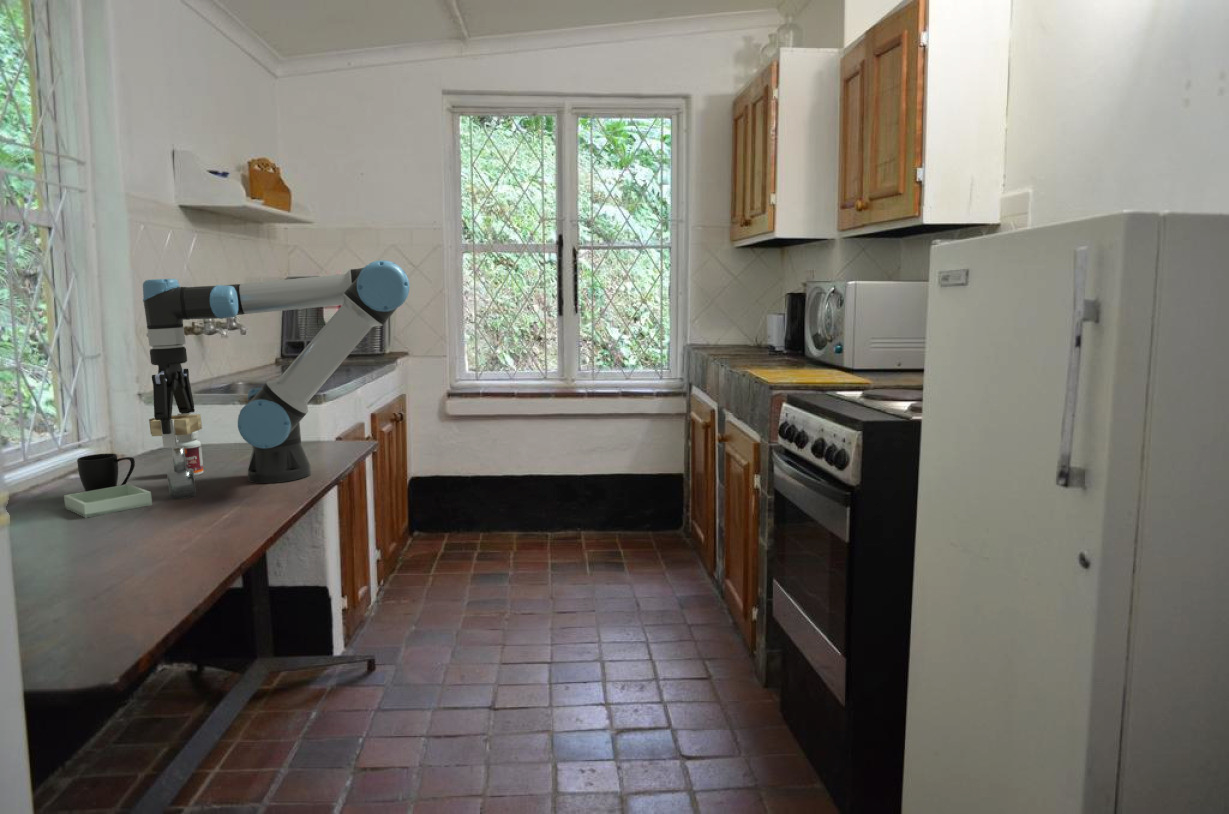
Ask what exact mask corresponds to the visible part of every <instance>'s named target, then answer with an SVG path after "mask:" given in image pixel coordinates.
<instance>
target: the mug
mask: <svg viewBox="0 0 1229 814" xmlns="http://www.w3.org/2000/svg"><path fill="white" fill-rule="evenodd" d="M124 460H127V461H128V460H129V461H130V467H129V469H128V472H127V475H126V477H125V478H124V480H123V481H122V483H121V484H120V485H125V484H128V481H129V478H130V477H131V475H132V473H133V472H134V469H135V466H136V465H135V464H136V462H135V458H134V457H131V456H126V457H120V458H118V454H116V453H95V454H89V455H84V456H81V457H78V458H77V459H76V461H77V470H78V475H79V479H80V482H81V484H82V487H83V489H84V492H86V491H92V490H97V489H103V488H109V487H114V486H118V485H117V484H118V479H119V463H120V461H124Z"/></svg>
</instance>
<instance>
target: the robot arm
mask: <svg viewBox="0 0 1229 814" xmlns="http://www.w3.org/2000/svg"><path fill="white" fill-rule="evenodd" d="M409 294H410V280H409V277H408V276H407V274H406V272H405V270H404V269H403V268H402V267H401V266H400V265H398V264H397V263H395V262H393V261H389V260H384V259H383V260H382V259H381V260H375V261H372V262H370V263H368V264H367V265H366V266H364V267H360V268H354V269H353V268H351V269H348V270H347V272H346V273H343V274H342V273H341V274H331V275H319V276H309V277H297V278H289V279H288V278H286V279H278V280H268V281H267V280H266V281H257V282H246V283H237V284H236V283H235V284H224V285H223V284H218V285H217V284H216V285H201V286H181V285H180V284H179V280H178V279H176V278H159V279H158V278H156V279H147V280H144V282H143V283H142V295H143V298H142V302H143V306H144V307H143V308H144V315H145V322H146V329H147V333H146V337H147V338H148V346H149V347H152V348H150V349H149V357H150V363H151V364H152V365H153V366H158V367H157V368H158V370H157V374H151V382H152V388H153V389H152V390H153V392H152V393H153V413H154V414H153V416H154V417H153V418H155V420H160V422H161V430H162V436H161V438H162V444H163V445H162V447H163V449H172V448H176V447H177V442H178V441H177V439H176V433H175V425H174V419H171V418H172V415H173V403H174V401H175V404H176V406H177V409H178V412H179V413H177V414H176V415H191V413H195V404H194V398H193V397H194V396H193V393H192V387H191V382H190V374H189V368H183V367H182V364H185V363H187V362H188V355H187V354H188V353H187V348H186V347H185V346H184V345H186V336H185V327H184V320H186V321H189V320H213V319H216V320H217V319H219V320H223V319H229V318H235V317H237V316H244V315H249V314H250V315H252V314H259V313H260V314H261V313H262V314H263V313H272V312H280V311H281V312H282V311H291V310H303V309H312V308H323V307H335V306H340V307H339V308H338V310H337V311H336V312H335V313H334V314H333V315H332V317H331V318H330V319H328V321H327V322H326V324H325V325H324V326H323V327H322V328H321V329H320V330H319V332H318V333H317V334H316V335H315V336H314V337H313V338H312V339H311V341H310V342H309V343H308V345H306V346H305V348H304V349H303V350H302V351H301V352H300V354H299V355H298V356H296V358H295V359H294V360H293V362H292V363H291V364H290V365H289V366H288V367H287V369H286V370H285V371H284V372H283V373H282V374H281V375H280V376H279V377H278V379H276V380H267V382H265V384H264V385H263V386H262V387H255V388H250V389H249V390H248V391H247V397H246V398H247V399H246V400H247V402H248V403H246V404H245V405H244V406H243V407H241V409H240V411H239V414H238V418H237V430H238V432H239V435H240V436H241V438H242V439H243V441H245V442H246V443H247V444H249V445H250V446H252V451H251V454H250V459H249V463H248V467H247V471H246V472H247V481H248V482H251V483H258V484H259V483H260V484H261V483H262V484H271V483H273V484H275V483H281V482H282V483H283V482H290V481H295V480H301V479H303V478H306V477H309V476H311V474H312V471H311V470H312V468H311V463H310V461H309V459H308V456H307V455H306V451H305V450H304V448H303V444H302V438H301V437H302V435H301V421H303V420H302V419H304V417H305V416H306V415H307V414H308V413H309V409H308V403H309V401H310V400H311V399H312V398H313V397H314V395H316V394H317V392H318V391H319V390H320V389H321V387H323V385H324V384H325V383H326V381H327V380H328V379H329V378H330V377H331V376H332V375H333V374H334V372H335V371H336V370H338V368H339V367H340V366H341V364H342V363H343V362H344V361H345V360H346V359H347V357H349V355H350V354H351V353H352V351H353V350H355V348H356V347H357V346H358V344H359V343H360V342H361V341H362V340H363V339H364V337H365V336H366V335H368V333H369V332H370V331H371V330H372V329H373V328H374V327H382V326H383V325H384V324H385V323H386V322H387V321H388V319H390V317H391V316H392V315H393V314H394V313H395V312H396V310H397V309H398V308H400V307H401V306H402V305H403V304H404V303H405V302H406V300H407V299H408V296H409ZM192 440H193V433H190V434H188V435H180V441H192Z"/></svg>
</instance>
